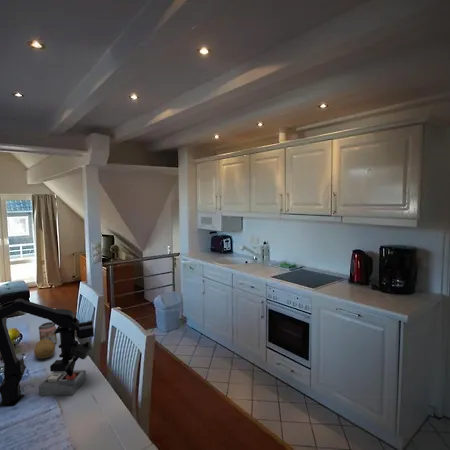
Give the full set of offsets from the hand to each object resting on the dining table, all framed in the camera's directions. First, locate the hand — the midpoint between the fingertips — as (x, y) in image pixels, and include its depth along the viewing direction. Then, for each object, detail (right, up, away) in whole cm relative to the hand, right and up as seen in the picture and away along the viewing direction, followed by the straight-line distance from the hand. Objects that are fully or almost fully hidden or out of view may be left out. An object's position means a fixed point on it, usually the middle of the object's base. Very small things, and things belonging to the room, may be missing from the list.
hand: (70, 375), depth 135 cm
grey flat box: (-3, -5, +1) cm, 6 cm away
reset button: (0, -5, 0) cm, 5 cm away
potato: (-27, -4, +28) cm, 39 cm away
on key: (-7, -5, +1) cm, 8 cm away
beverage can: (-33, -3, +41) cm, 53 cm away
